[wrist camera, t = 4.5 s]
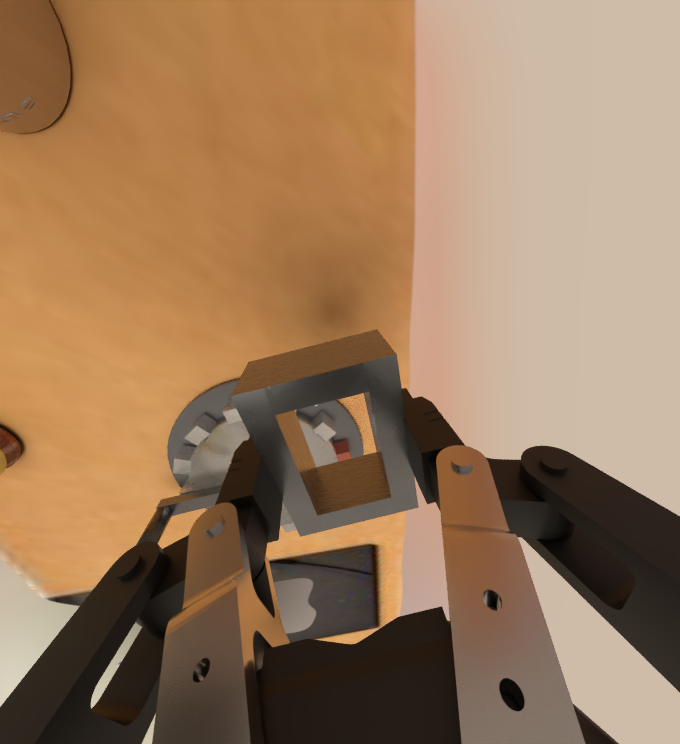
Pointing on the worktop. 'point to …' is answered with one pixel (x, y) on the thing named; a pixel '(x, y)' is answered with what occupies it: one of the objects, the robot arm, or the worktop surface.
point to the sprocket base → (214, 405)
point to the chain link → (290, 449)
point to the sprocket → (215, 458)
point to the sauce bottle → (8, 450)
